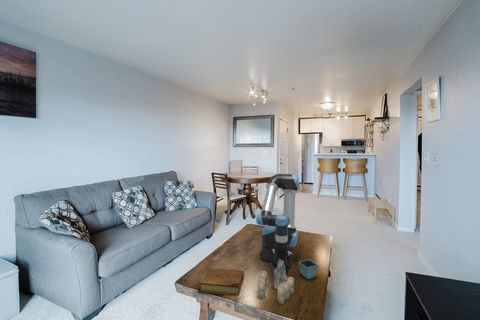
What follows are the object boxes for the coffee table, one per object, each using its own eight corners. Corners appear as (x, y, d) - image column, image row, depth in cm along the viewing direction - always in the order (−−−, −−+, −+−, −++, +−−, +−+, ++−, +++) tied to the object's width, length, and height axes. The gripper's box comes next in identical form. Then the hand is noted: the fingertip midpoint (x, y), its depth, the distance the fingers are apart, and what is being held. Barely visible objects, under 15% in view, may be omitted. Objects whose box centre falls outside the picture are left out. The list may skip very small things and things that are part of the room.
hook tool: (279, 278, 148) (279, 259, 148) (285, 279, 147) (285, 260, 146) (273, 288, 137) (273, 268, 137) (279, 290, 135) (279, 269, 135)
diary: (243, 279, 148) (243, 270, 148) (238, 296, 130) (238, 286, 130) (208, 276, 152) (208, 267, 152) (199, 292, 134) (199, 282, 134)
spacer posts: (261, 283, 142) (261, 270, 142) (294, 291, 134) (294, 277, 134) (252, 296, 129) (252, 281, 129) (288, 306, 121) (288, 290, 121)
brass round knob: (275, 283, 143) (275, 278, 143) (283, 285, 141) (283, 280, 141) (272, 287, 139) (272, 282, 139) (281, 289, 136) (281, 284, 136)
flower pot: (307, 282, 144) (307, 267, 144) (298, 275, 152) (298, 261, 152) (318, 279, 148) (318, 264, 148) (308, 272, 156) (309, 259, 156)
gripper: (266, 240, 146) (266, 278, 146) (294, 245, 138) (293, 284, 139) (270, 237, 153) (269, 272, 153) (296, 241, 145) (296, 278, 145)
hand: (281, 278), depth 146 cm, fingers open, 4 cm apart
